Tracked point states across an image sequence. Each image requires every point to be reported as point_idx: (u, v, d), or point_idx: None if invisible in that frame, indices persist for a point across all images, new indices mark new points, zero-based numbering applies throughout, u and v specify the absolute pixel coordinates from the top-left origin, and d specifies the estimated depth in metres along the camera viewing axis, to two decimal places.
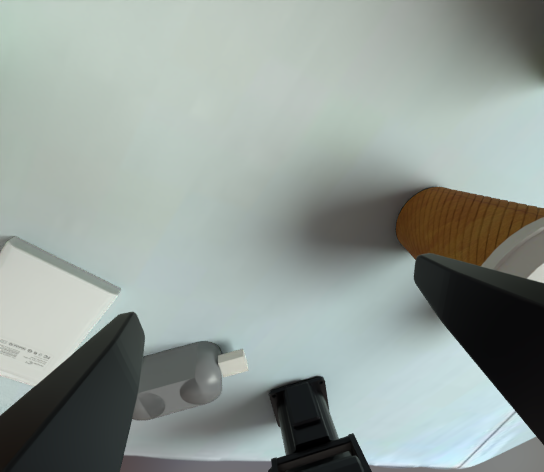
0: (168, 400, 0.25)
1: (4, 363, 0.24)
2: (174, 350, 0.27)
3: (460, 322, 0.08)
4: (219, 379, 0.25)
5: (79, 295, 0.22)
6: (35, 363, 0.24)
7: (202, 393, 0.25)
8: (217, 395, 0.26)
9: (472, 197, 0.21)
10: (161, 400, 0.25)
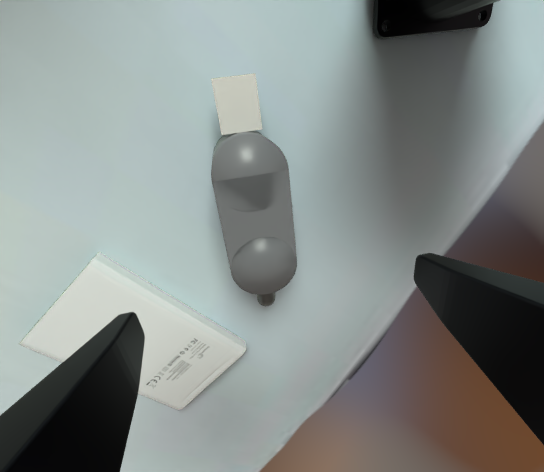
0: (260, 231, 0.14)
1: (198, 373, 0.22)
2: None
3: (460, 322, 0.08)
4: (236, 136, 0.13)
5: (91, 298, 0.18)
6: (202, 351, 0.21)
7: (258, 174, 0.13)
8: (272, 146, 0.13)
9: None
10: (258, 241, 0.15)
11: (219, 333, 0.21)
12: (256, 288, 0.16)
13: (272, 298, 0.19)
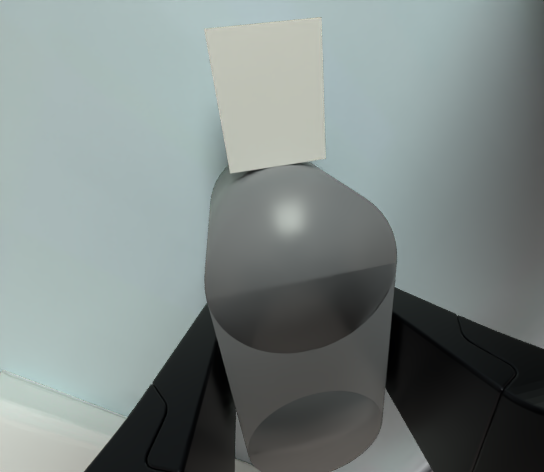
0: (315, 384, 0.06)
1: None
2: None
3: None
4: (271, 186, 0.05)
5: None
6: None
7: (324, 275, 0.05)
8: (366, 211, 0.05)
9: None
10: (308, 400, 0.07)
11: None
12: (297, 471, 0.08)
13: None
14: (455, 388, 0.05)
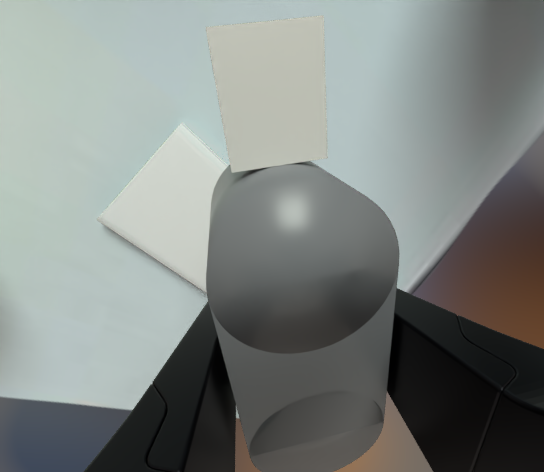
0: (317, 384, 0.06)
1: None
2: None
3: None
4: (273, 186, 0.05)
5: (173, 170, 0.17)
6: None
7: (326, 275, 0.05)
8: (369, 210, 0.05)
9: None
10: (310, 400, 0.07)
11: None
12: (298, 471, 0.08)
13: None
14: (454, 387, 0.05)
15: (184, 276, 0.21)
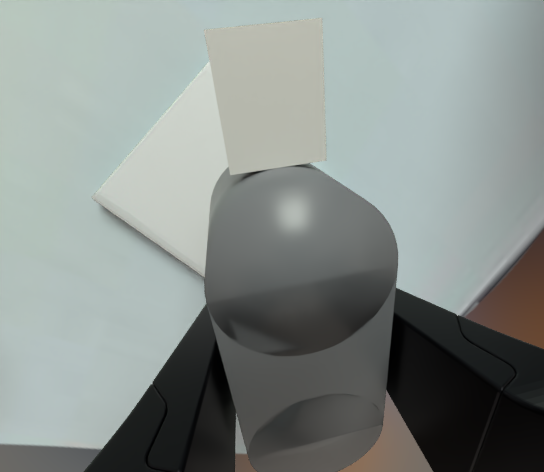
0: (316, 386, 0.06)
1: None
2: None
3: None
4: (271, 189, 0.05)
5: (202, 126, 0.12)
6: None
7: (324, 278, 0.05)
8: (367, 213, 0.05)
9: None
10: (309, 403, 0.07)
11: None
12: None
13: None
14: (454, 387, 0.05)
15: None
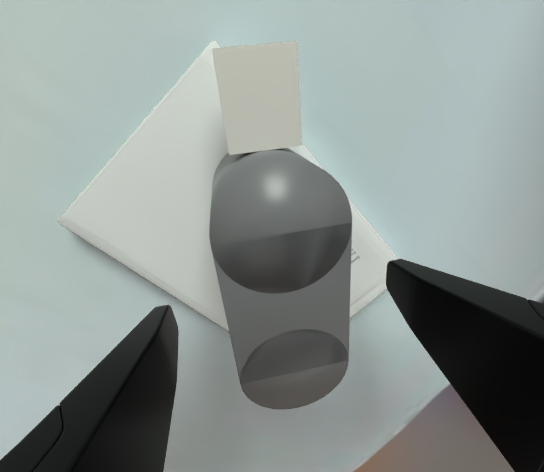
0: (293, 321, 0.08)
1: None
2: None
3: (426, 330, 0.08)
4: (258, 162, 0.07)
5: (197, 131, 0.09)
6: None
7: (297, 230, 0.07)
8: (327, 181, 0.07)
9: None
10: (288, 336, 0.09)
11: (377, 234, 0.13)
12: (280, 401, 0.10)
13: None
14: (537, 366, 0.05)
15: (206, 314, 0.13)
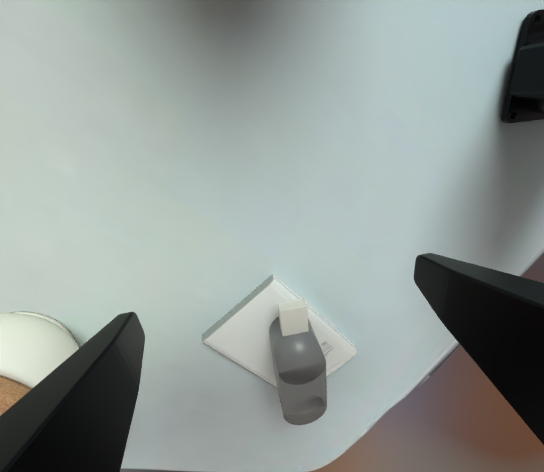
0: (304, 393, 0.22)
1: None
2: (272, 354, 0.25)
3: (460, 322, 0.08)
4: (294, 347, 0.20)
5: (264, 308, 0.23)
6: (327, 351, 0.27)
7: (307, 366, 0.21)
8: (317, 353, 0.20)
9: None
10: (302, 398, 0.22)
11: (342, 337, 0.26)
12: (298, 421, 0.23)
13: None
14: None
15: (258, 375, 0.26)
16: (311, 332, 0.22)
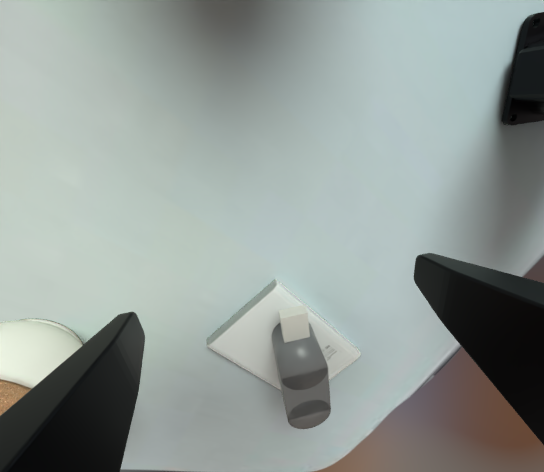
0: (308, 397, 0.22)
1: None
2: None
3: (460, 322, 0.08)
4: (296, 354, 0.21)
5: (268, 313, 0.23)
6: (331, 355, 0.27)
7: (309, 371, 0.21)
8: (318, 358, 0.21)
9: None
10: (306, 402, 0.23)
11: (345, 341, 0.27)
12: (303, 425, 0.24)
13: None
14: None
15: (263, 378, 0.27)
16: (313, 337, 0.22)
